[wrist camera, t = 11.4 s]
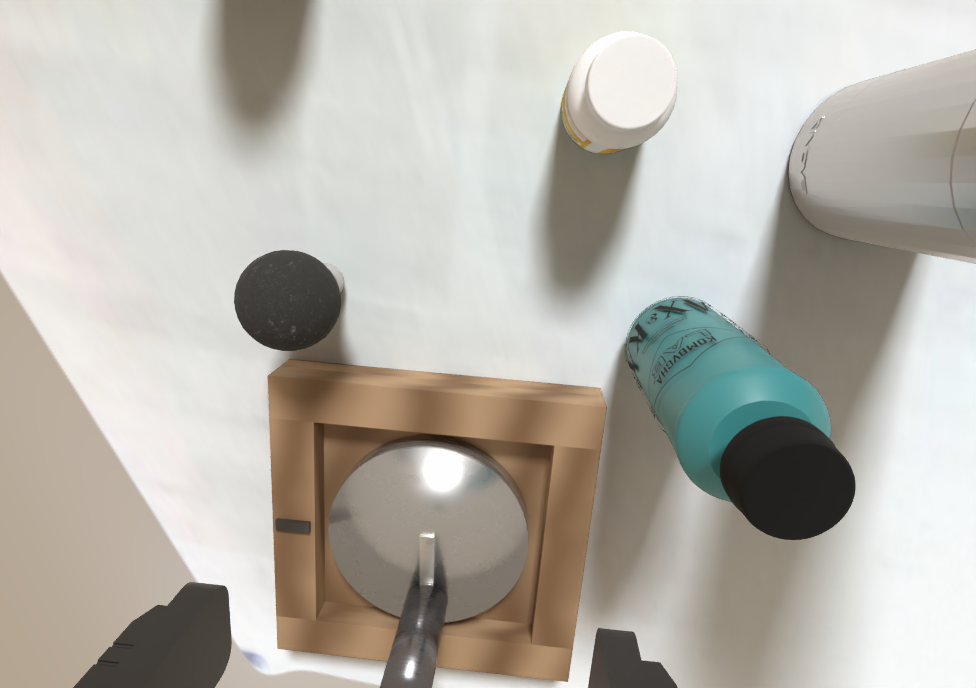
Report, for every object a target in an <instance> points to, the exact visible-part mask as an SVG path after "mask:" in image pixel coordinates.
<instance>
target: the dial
mask: <svg viewBox="0 0 976 688" xmlns="http://www.w3.org/2000/svg"><path fill="white" fill-rule="evenodd" d="M329 541H330V546H331V550H332V553H333V556H334V559H335V561H336V563H337V566H338V567H339V569H340V571H341V573H342V574H343V576H344V577H345V579H346V580H347V581H348V582H349V584H350V585H351V586H352V587H353V588H354V589H355V590H356V591H357V592H358V593H359V594H360V595H361V596H362V597H364V598H365V599H366V600H367V601H369V602H370V603H372V604H373V605H375V606H377V607H378V608H380V609H382V610H384V611H386V612H388V613H390V614H393V615H395V616H398V617H400V620H399V624H398V627H397V631H396V634H395V638H394V641H393V644H392V648H391V651H390V655H389V658H388V662H387V665H386V669H385V672H384V676H383V679H382V682H381V686H380V688H432V684H433V679H434V674H435V668H436V663H437V658H438V652H439V647H440V642H441V636H442V631H443V626H444V622H453V621H458V620H463V619H466V618H469V617H472V616H475V615H478V614H480V613H482V612H484V611H486V610H488V609H489V608H491V607H492V606H494V605H495V604H497V603H498V602H499V601H500V600H501V599H503V598H504V597H505V596H506V595H507V594H508V593H509V591H510V590H511V589H512V588H513V587H514V585H515V584H516V582H517V581H518V579H519V577H520V575H521V573H522V571H523V568H524V565H525V562H526V558H527V552H528V515H527V509H526V505H525V502H524V499H523V496H522V494H521V492H520V490H519V488H518V486H517V484H516V483H515V481H514V480H513V478H512V477H511V475H510V474H509V473H508V472H507V471H506V469H505V468H504V467H503V466H502V465H501V464H500V463H499V462H497V461H496V460H495V459H494V458H493V457H491V456H490V455H488V454H487V453H486V452H484V451H483V450H481V449H479V448H477V447H475V446H473V445H471V444H469V443H466V442H463V441H461V440H458V439H453V438H449V437H445V436H436V435H416V436H408V437H403V438H400V439H396V440H393V441H390V442H388V443H385V444H383V445H381V446H379V447H377V448H376V449H374V450H372V451H371V452H370V453H368V454H367V455H366V456H364V457H363V458H362V459H361V460H360V461H359V462H358V463H357V464H356V465H355V466H354V468H353V469H352V471H351V472H350V473H349V475H348V476H347V478H346V480H345V481H344V483H343V485H342V486H341V488H340V490H339V492H338V493H337V495H336V497H335V499H334V502H333V505H332V508H331V512H330V517H329Z"/></svg>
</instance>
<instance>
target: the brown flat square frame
mask: <svg viewBox="0 0 976 688" xmlns="http://www.w3.org/2000/svg"><path fill="white" fill-rule="evenodd" d="M268 393H269V421H270V449H271V477H272V505H273V533H274V561H275V589H276V617H277V645H278V649H285V650H294V651H302V652H311V653H320V654H329V655H337V656H346V657H355V658H364V659H372V660H381V661H388V658H389V655H390V651H391V648H392V644H393V641H394V638H395V634H396V631H397V627H398V624H399V620H400V617H398V616H395V615H393V614H390V613H388V612H386V611H384V610H382V609H380V608H378V607H377V606H375V605H373V604H372V603H370V602H369V601H367V600H366V599H365V598H364V597H362V596H361V595H360V594H359V593H358V592H357V591H356V590H355V589H354V588H353V587H352V586H351V585H350V584H349V582H348V581H347V580H346V579H345V577H344V576H343V574H342V573H341V571H340V569H339V567H338V566H337V563H336V561H335V559H334V556H333V553H332V550H331V546H330V541H329V517H330V512H331V508H332V505H333V502H334V499H335V497H336V495H337V493H338V492H339V490H340V488H341V486H342V485H343V483H344V481H345V480H346V478H347V476H348V475H349V473H350V472H351V471H352V469H353V468H354V466H355V465H356V464H357V463H358V462H359V461H360V460H361V459H362V458H363V457H364V456H366V455H367V454H368V453H370V452H371V451H372V450H374V449H376V448H377V447H379V446H381V445H383V444H385V443H388V442H390V441H393V440H396V439H400V438H403V437H408V436H416V435H436V436H445V437H449V438H453V439H458V440H461V441H463V442H466V443H469V444H471V445H473V446H475V447H477V448H479V449H481V450H483V451H484V452H486V453H487V454H488V455H490V456H491V457H493V458H494V459H495V460H496V461H497V462H499V463H500V464H501V465H502V466H503V467H504V468H505V469H506V471H507V472H508V473H509V474H510V475H511V477H512V478H513V480H514V481H515V483H516V484H517V486H518V488H519V490H520V492H521V494H522V496H523V499H524V502H525V505H526V509H527V515H528V552H527V558H526V562H525V565H524V568H523V571H522V573H521V575H520V577H519V579H518V581H517V582H516V584H515V585H514V587H513V588H512V589H511V590H510V591H509V593H508V594H507V595H506V596H505V597H504V598H503V599H501V600H500V601H499V602H498V603H497V604H495V605H494V606H492V607H491V608H489V609H488V610H486V611H484V612H482V613H480V614H478V615H475V616H472V617H469V618H466V619H463V620H458V621H453V622H444V626H443V631H442V636H441V642H440V647H439V652H438V658H437V663H436V667H443V668H451V669H460V670H469V671H478V672H486V673H495V674H504V675H513V676H521V677H530V678H539V679H548V680H556V681H565V682H568V678H569V671H570V664H571V657H572V650H573V642H574V635H575V628H576V621H577V614H578V607H579V600H580V593H581V586H582V579H583V572H584V565H585V558H586V551H587V544H588V537H589V530H590V522H591V515H592V508H593V501H594V494H595V487H596V480H597V473H598V466H599V459H600V452H601V445H602V438H603V431H604V424H605V417H606V410H607V406H606V403H605V401H604V398H603V395H602V392H601V389H600V388H594V387H583V386H572V385H562V384H551V383H540V382H529V381H518V380H507V379H496V378H486V377H475V376H464V375H453V374H442V373H431V372H420V371H409V370H399V369H388V368H377V367H366V366H355V365H344V364H333V363H323V362H312V361H301V360H290V359H289V360H288V361H286V362H285V363H284V364H283V365H281V366H280V367H279V368H277V369H276V370H275V371H273V372H272V373H271V374H269V375H268Z"/></svg>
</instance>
